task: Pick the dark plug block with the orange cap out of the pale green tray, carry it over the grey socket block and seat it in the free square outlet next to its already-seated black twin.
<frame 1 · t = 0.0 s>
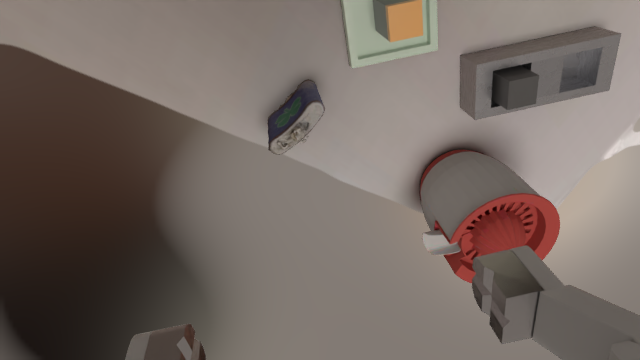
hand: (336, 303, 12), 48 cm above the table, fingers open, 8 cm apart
blue box: (291, 104, 59), on the table
tray: (387, 10, 54), on the table
twin plug: (496, 77, 60), point 1 cm above the table, touching grey socket block
grey socket block: (525, 68, 61), on the table
citrus juicer: (447, 180, 70), on the table
plug: (389, 11, 54), point 1 cm above the table, touching tray
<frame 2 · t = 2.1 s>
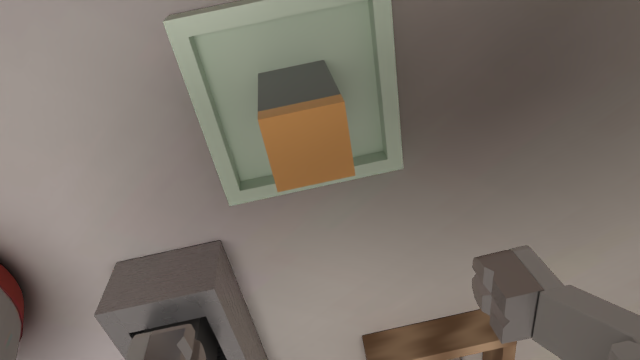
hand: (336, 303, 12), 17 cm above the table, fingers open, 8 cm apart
tray: (296, 94, 26), on the table
twin plug: (188, 305, 33), point 1 cm above the table, touching grey socket block
grey socket block: (209, 334, 36), on the table
plug: (297, 98, 25), point 1 cm above the table, touching tray
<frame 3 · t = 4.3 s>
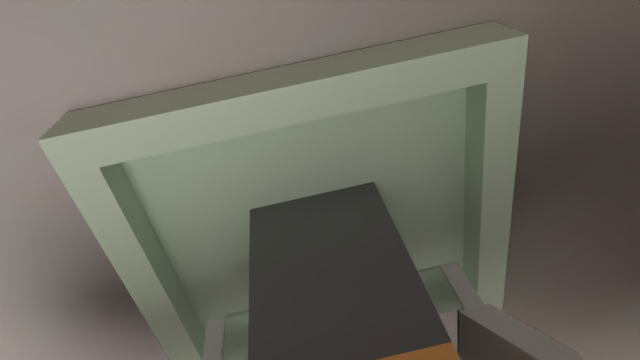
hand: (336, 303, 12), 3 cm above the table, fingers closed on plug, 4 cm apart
tray: (319, 232, 14), on the table
plug: (322, 243, 14), point 1 cm above the table, touching gripper, tray
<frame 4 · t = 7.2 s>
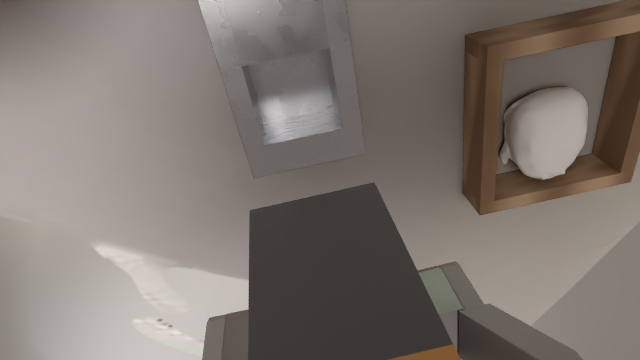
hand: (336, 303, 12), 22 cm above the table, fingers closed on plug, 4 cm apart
garlic corral: (541, 105, 34), on the table
garlic: (532, 126, 36), resting in garlic corral
grey socket block: (273, 3, 28), on the table
plug: (322, 244, 14), point 19 cm above the table, touching gripper
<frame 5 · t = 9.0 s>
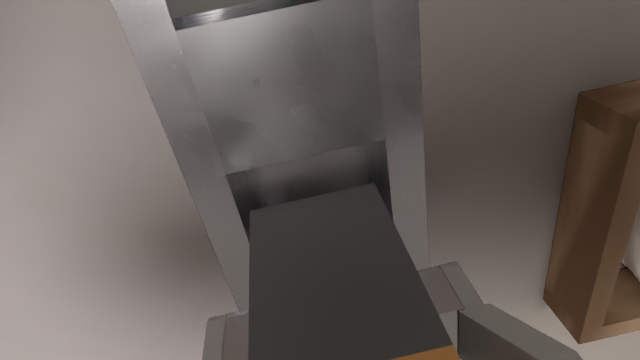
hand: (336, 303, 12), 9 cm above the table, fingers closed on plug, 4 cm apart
grey socket block: (281, 50, 17), on the table
plug: (323, 244, 14), point 6 cm above the table, touching gripper
when the fingers open (5 cm above the table, at t = 10.5 s): plug drops 2 cm, resting on grey socket block.
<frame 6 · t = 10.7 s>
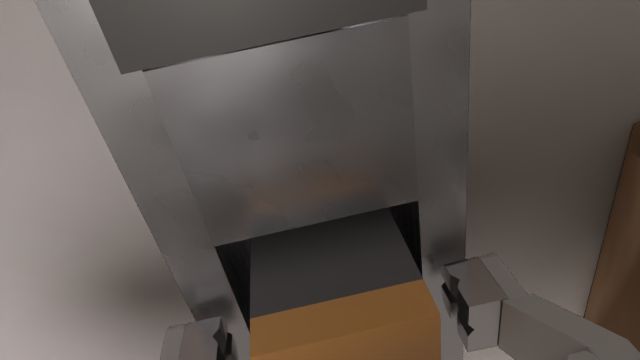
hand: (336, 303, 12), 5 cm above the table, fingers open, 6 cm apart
grey socket block: (285, 79, 14), on the table
plug: (317, 214, 15), point 1 cm above the table, touching grey socket block
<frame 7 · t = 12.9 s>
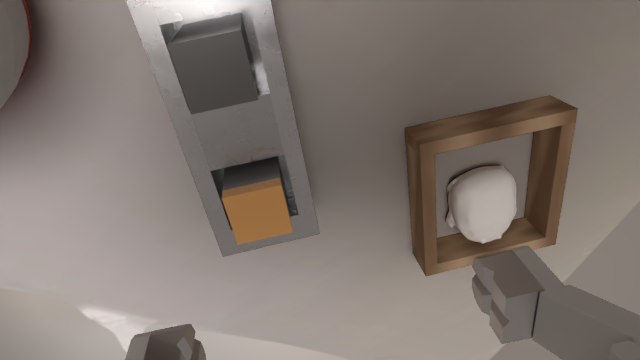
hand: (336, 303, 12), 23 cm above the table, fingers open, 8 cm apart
garlic corral: (475, 180, 40), on the table
twin plug: (220, 47, 29), point 1 cm above the table, touching grey socket block
garlic: (473, 195, 41), resting in garlic corral
grey socket block: (239, 109, 32), on the table
plug: (256, 168, 34), point 1 cm above the table, touching grey socket block
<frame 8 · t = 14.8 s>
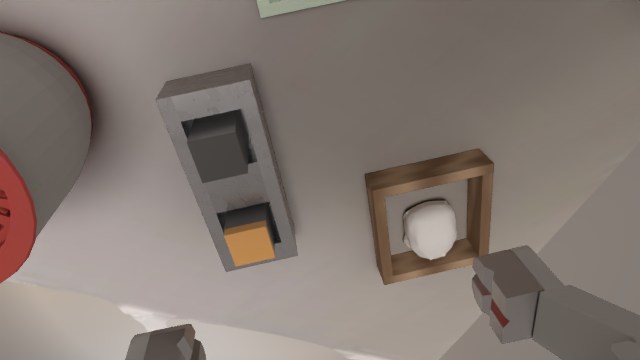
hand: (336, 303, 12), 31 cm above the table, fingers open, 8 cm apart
garlic corral: (424, 211, 51), on the table
twin plug: (223, 124, 40), point 1 cm above the table, touching grey socket block
garlic: (425, 221, 52), resting in garlic corral
grey socket block: (238, 163, 44), on the table
citrus juicer: (16, 90, 37), on the table
plug: (250, 206, 45), point 1 cm above the table, touching grey socket block
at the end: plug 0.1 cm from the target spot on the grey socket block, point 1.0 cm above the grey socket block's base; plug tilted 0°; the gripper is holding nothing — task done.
